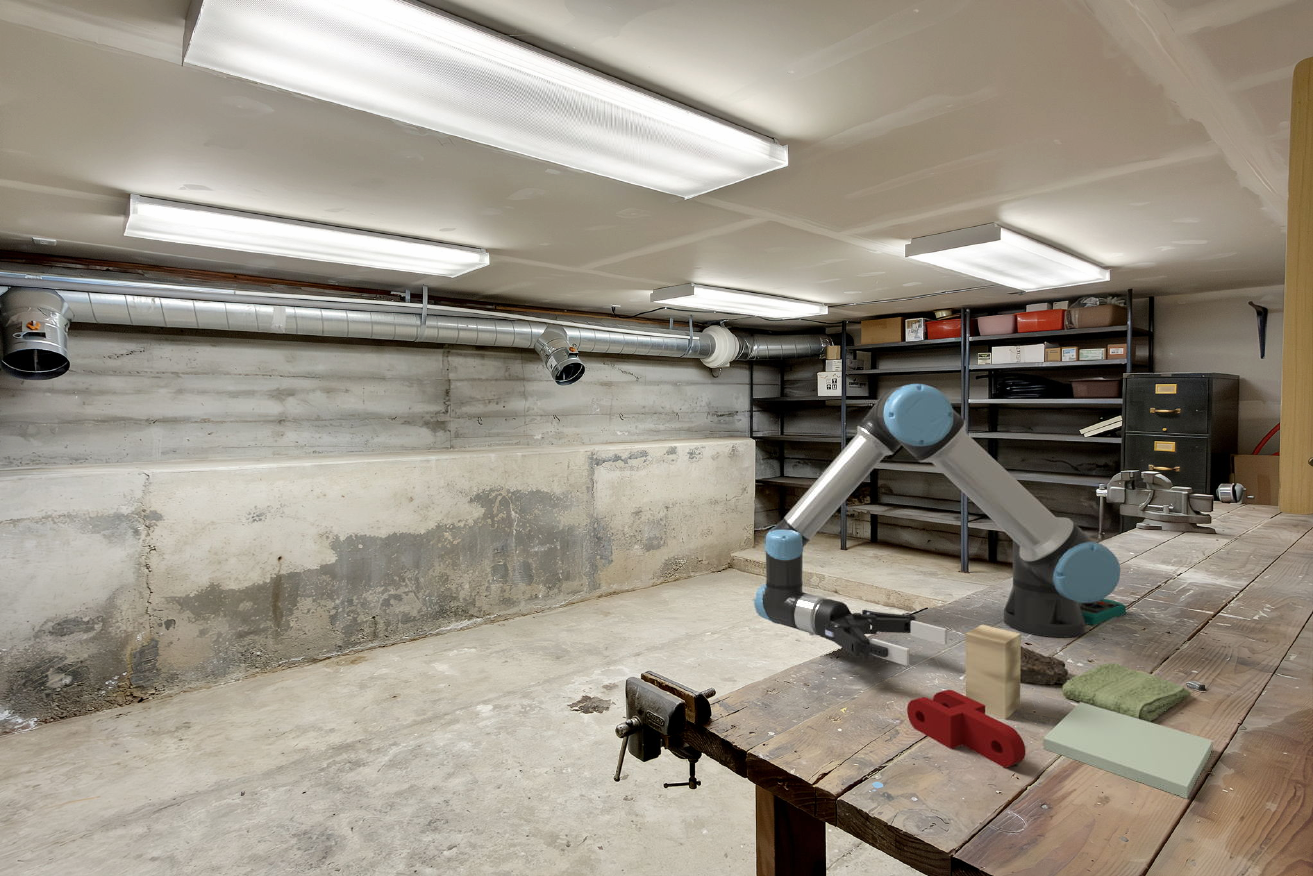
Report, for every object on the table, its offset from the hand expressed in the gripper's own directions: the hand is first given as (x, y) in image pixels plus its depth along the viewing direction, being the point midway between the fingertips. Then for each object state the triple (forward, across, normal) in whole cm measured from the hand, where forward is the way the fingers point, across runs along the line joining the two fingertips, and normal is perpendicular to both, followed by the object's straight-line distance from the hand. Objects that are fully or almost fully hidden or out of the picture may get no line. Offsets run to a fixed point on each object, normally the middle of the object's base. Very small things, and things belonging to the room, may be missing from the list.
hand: (927, 646), depth 112 cm
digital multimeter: (+8, -61, -7) cm, 62 cm away
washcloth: (+24, -19, -7) cm, 31 cm away
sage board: (+29, 0, -7) cm, 30 cm away
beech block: (+11, 0, -7) cm, 13 cm away
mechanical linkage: (+13, +14, -7) cm, 20 cm away
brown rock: (+10, -17, -7) cm, 21 cm away
